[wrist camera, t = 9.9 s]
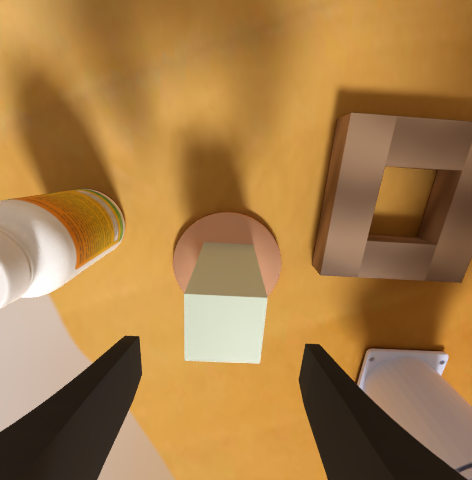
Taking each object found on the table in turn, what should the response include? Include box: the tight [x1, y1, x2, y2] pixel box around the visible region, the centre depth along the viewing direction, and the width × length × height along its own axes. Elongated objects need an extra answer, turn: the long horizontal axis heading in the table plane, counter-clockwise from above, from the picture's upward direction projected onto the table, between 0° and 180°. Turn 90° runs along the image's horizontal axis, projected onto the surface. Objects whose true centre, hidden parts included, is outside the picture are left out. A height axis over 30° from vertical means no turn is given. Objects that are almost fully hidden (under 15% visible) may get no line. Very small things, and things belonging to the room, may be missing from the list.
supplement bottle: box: [0, 189, 125, 309], centre depth 14 cm, size 5×5×10 cm
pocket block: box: [312, 113, 472, 283], centre depth 18 cm, size 11×11×2 cm
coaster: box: [173, 212, 281, 296], centre depth 20 cm, size 9×9×1 cm
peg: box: [184, 242, 267, 364], centre depth 16 cm, size 4×4×8 cm
